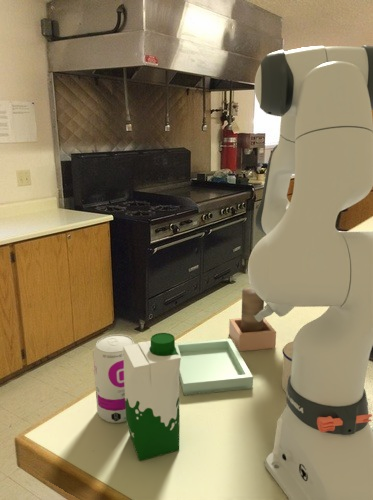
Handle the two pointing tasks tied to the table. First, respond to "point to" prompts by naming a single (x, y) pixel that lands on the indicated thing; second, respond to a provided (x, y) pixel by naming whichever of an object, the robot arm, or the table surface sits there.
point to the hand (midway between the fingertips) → (250, 311)
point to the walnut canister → (251, 311)
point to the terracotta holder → (252, 336)
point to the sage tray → (212, 367)
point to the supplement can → (110, 377)
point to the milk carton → (152, 395)
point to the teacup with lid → (286, 364)
